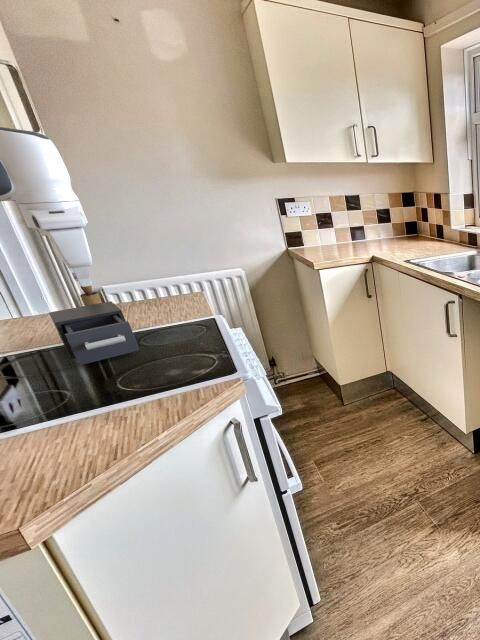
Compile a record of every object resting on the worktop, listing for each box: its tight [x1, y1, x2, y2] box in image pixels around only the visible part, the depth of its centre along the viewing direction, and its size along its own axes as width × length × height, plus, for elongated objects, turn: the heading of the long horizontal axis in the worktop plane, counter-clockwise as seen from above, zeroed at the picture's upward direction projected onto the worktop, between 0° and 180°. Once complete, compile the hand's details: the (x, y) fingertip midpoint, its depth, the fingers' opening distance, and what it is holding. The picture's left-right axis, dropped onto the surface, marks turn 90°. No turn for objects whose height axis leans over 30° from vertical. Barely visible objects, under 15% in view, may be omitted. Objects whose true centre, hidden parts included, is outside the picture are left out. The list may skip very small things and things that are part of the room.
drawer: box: [63, 314, 140, 366], centre depth 105 cm, size 17×11×8 cm
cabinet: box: [48, 301, 127, 359], centre depth 113 cm, size 14×13×10 cm
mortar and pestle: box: [79, 285, 103, 306], centre depth 123 cm, size 7×6×18 cm
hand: (83, 283), depth 91 cm, fingers open, 6 cm apart
